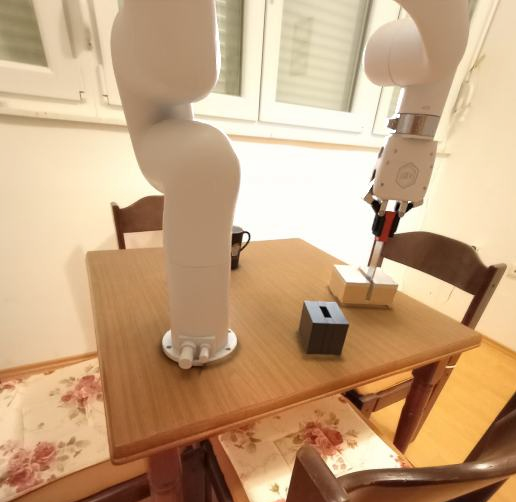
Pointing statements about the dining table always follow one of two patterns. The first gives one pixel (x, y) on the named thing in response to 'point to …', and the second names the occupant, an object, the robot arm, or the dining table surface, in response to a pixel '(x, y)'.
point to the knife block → (323, 328)
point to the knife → (380, 243)
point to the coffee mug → (237, 245)
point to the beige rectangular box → (362, 285)
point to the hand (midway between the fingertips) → (382, 235)
